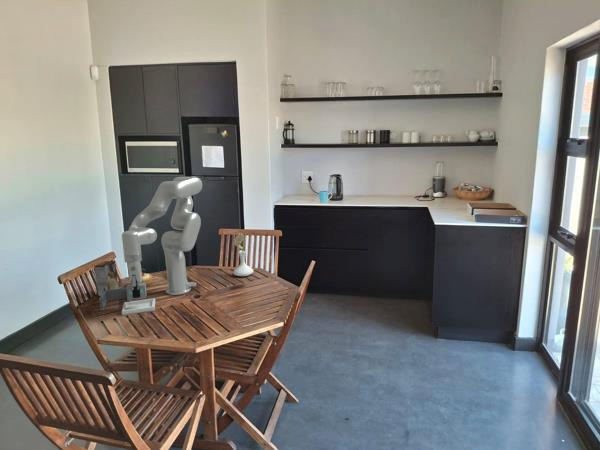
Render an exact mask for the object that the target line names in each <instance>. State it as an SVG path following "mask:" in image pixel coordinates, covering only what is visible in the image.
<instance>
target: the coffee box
mask: <svg viewBox="0 0 600 450" xmlns="http://www.w3.org/2000/svg"><path fill="white" fill-rule="evenodd" d="M116 265H117V263H116V260H111V261H110V260H105V261H102V262H100V263H98V264H96V265H93V266H94V273H95V281H96V287H97V295H98V296H99V297H101V294H102V292H103V291H106V290H111V289H119V288H120V285H119V279H118V271H117V266H116Z"/></svg>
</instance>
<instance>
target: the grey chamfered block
mask: <svg viewBox="0 0 600 450" xmlns="http://www.w3.org/2000/svg"><path fill="white" fill-rule="evenodd" d="M136 285H137V284H136ZM125 288H126V289H127V298H128V300H132V301H134V300H139V299H140V300H142V299H147V286H146V284H145V282H143V283H139V289H140V297H139V298H133V293H132V284H130V283H128V284H126V286H125ZM127 298H126V299H127Z"/></svg>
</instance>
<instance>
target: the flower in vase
mask: <svg viewBox="0 0 600 450" xmlns="http://www.w3.org/2000/svg"><path fill="white" fill-rule="evenodd" d="M244 238H245V237H244V234H243V232H239V233H238V234H237V235H235V238H234V241H233V242H234V246H235V247H238V248H239V249H240V250H238V251H237V254H238V255H239V258H240V263H239V265H238V266H237V267H236V268H235V269H234V270H233V272H232V273H233V275H234V276H237V277H247V276H251V275H252V274H253V273H254V269H253V268H252V267H250V266H249V265H247V264H246V261H245V258H246V252H247V250H246V247H245V246H244V244H243V243H244V242H243V241H244Z"/></svg>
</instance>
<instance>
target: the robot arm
mask: <svg viewBox="0 0 600 450" xmlns="http://www.w3.org/2000/svg"><path fill="white" fill-rule="evenodd" d="M202 181H203V180H201V179H200V177H197V176H177V177H175V178H173V180H172V181H170V180H167V181H163V182H161V183H160V184H159V186H158V187H157V189H156V191H155V193H154V196H153V197H152V199H151V201H150V203H149V205H148V206H147V207H146V208H144V209H143V210H142V211H140V213H138V214H137V215H136V216H135V218H134V219H133V221H132V222H131V225H130V226H129V228H128V230H126V231H125V230H124V231H123V232H122V234H121V240H122V241H121V243H122V250H123V258H124V263H126V264H127V269H128V278H129V279H128V280H129V284H130V283H131V284H132V293H133V298H139V297H140V289H139V283H141V282H142V272H143V271H142V270H141V269H142V265H141V262H142V260H143V258H142V257H143V255H142V247H141V246H143V245H150V244H153V243H154V242H155V241H156V240H157V238H158V233H157V231H156V230H155V229H153V228H152V227H151V228H150V227H146V226H147V225H148V224H149V223H150V222H152V221H154V220H156V219H159V218H161V217H163V216H165V215H166V213H167V211H168V210H169V208H170V205H171V203H172V201H173V199H175V200H176V203H175V206H174V210H173V212H172V215H171V219H170V225H171V227H172V229H175V230H170V231H165V232H164V233H163V234H162V236H161V246H162V250H163V253H164V258H165V260H164V261H165V267H166V268H165V270H166V277H167V278H166V279H167V286H168V287H167V288H166V289H165V293H166V295H168V296H179V295H184V294H187V293H189V292H191V289H192V288H191V287H197V282H194V281H189V280H188V278H187V269H186V268H187V267H186V257H185V254H184V252H190V251H192V249H193V248H194V246H195V244H196V241H197V238H198V235H199V232H200V228H201V226H202V224H201V223H202V221H201V220H202V219H201V217H200V215H199V214H198V213H197V212H194V211H193V207H194V200H193V198H192V196H195V195H196V194H197V195H198V194H200V192H202V189H203V182H202ZM176 230H178V231H176ZM136 284H137V285H136Z"/></svg>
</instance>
